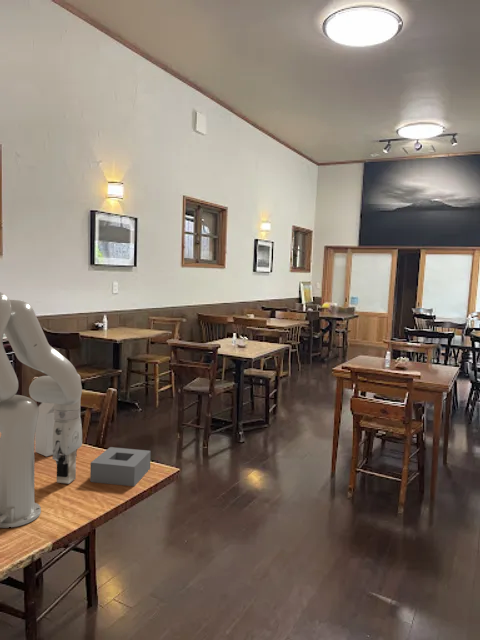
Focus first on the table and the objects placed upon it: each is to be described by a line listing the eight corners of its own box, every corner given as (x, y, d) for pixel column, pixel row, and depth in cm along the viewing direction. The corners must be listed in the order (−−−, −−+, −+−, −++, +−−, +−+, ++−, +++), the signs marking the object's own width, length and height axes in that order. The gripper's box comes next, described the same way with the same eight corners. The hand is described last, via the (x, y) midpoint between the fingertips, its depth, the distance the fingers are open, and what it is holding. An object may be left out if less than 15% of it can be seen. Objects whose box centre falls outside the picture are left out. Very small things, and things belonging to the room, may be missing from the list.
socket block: (134, 486, 144) (134, 466, 144) (90, 481, 146) (90, 462, 146) (150, 468, 158) (150, 450, 158) (109, 464, 160) (110, 447, 160)
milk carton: (46, 457, 165) (46, 402, 164) (35, 452, 169) (35, 399, 168) (64, 451, 171) (65, 399, 169) (53, 447, 175) (53, 395, 173)
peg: (69, 483, 144) (69, 447, 143) (56, 482, 144) (57, 446, 144) (75, 478, 148) (76, 443, 147) (63, 477, 148) (63, 442, 148)
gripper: (64, 422, 136) (63, 485, 137) (91, 408, 152) (90, 464, 154) (39, 420, 137) (39, 483, 138) (69, 406, 154) (68, 462, 155)
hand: (66, 472), depth 146 cm, fingers closed on peg, 4 cm apart
